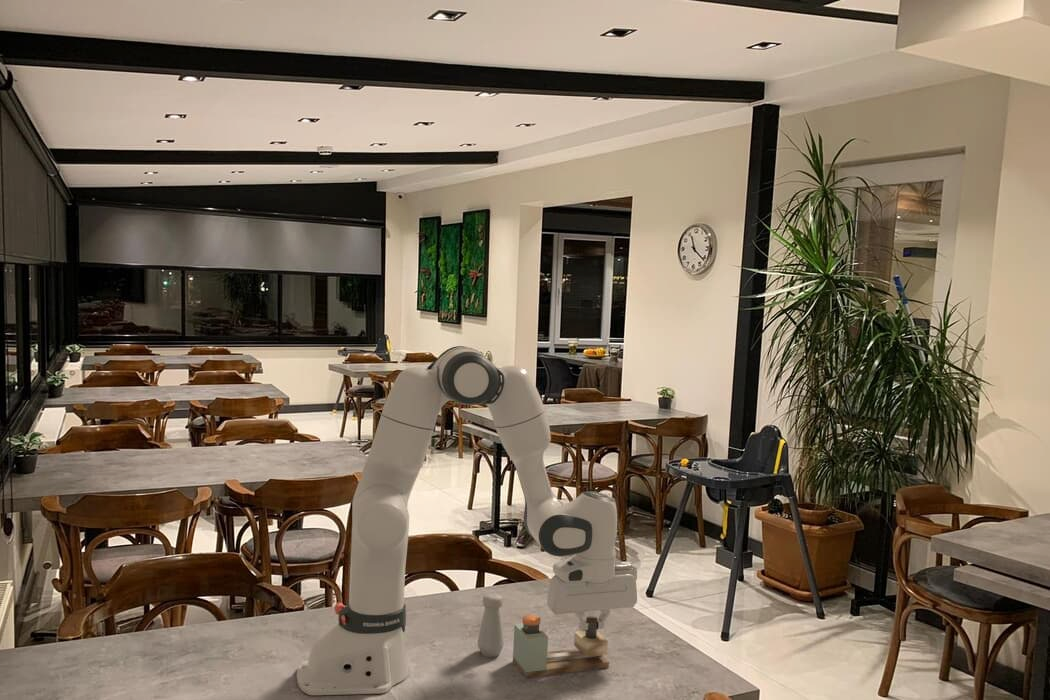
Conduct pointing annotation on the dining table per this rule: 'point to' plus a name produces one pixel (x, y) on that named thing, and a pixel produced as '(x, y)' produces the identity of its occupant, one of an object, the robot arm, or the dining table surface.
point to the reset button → (531, 624)
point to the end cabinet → (530, 649)
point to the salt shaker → (491, 627)
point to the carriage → (590, 640)
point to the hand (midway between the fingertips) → (591, 629)
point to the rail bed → (566, 663)
